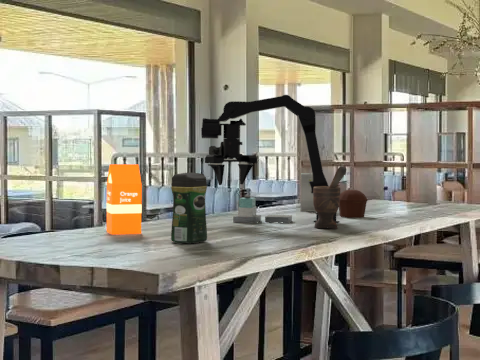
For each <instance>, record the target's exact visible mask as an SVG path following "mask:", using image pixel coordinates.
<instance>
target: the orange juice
mask: <svg viewBox="0 0 480 360" xmlns="http://www.w3.org/2000/svg"><path fill="white" fill-rule="evenodd" d="M141 178H142V177H141V172H140V165H139V164H136V163H134V164H127V163H126V164H123V163H122V164H120V163H119V164H118V163H117V164H113V163H111V164H109V167H108V173H107V181H106V232H107V233H108V234H110V235H141V234H142V213H143V211H142V206H143V204H142V201H143V200H142V199H143V198H142V194H143V193H142V187H143V186H142V179H141Z"/></svg>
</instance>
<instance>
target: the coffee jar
mask: <svg viewBox="0 0 480 360" xmlns="http://www.w3.org/2000/svg"><path fill="white" fill-rule="evenodd" d="M170 188H171V192H172V199H173V200H172V202H173V204H172V219H171V232H170V233H171V234H170V240H171V242H173V243H174V244H178V243H180V244H179V245H182V244H190V245H191V243H194V244H199V242H200V243H204V242H206V241H207V239H208V228H207V215H206V214H207V213H206V212H207V211H206V210H207V209H206V194H207V189H208V182H207V176H206V175H205V174H204V173H199V172H182V173H175V174H173V176H172V177H171V186H170Z"/></svg>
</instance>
